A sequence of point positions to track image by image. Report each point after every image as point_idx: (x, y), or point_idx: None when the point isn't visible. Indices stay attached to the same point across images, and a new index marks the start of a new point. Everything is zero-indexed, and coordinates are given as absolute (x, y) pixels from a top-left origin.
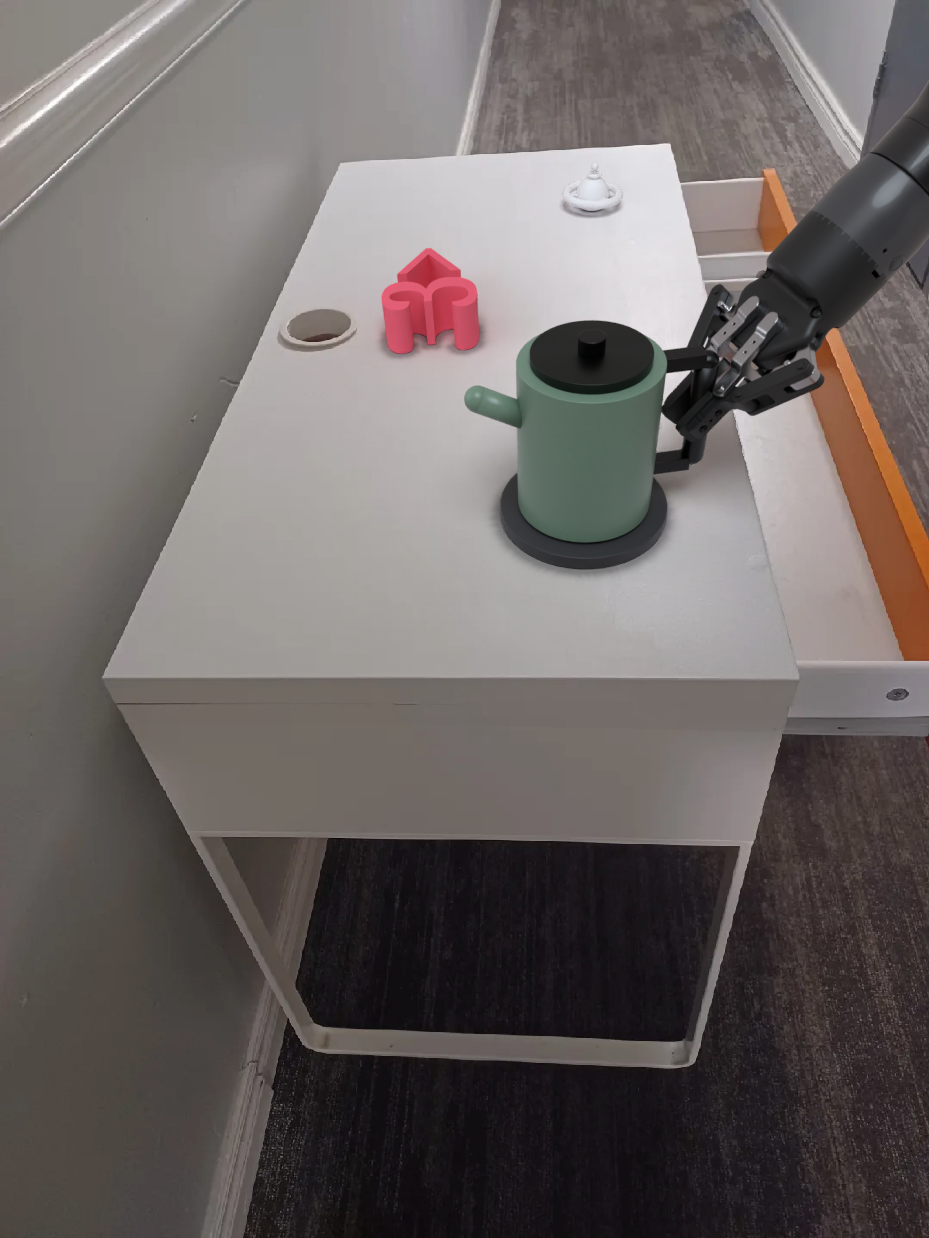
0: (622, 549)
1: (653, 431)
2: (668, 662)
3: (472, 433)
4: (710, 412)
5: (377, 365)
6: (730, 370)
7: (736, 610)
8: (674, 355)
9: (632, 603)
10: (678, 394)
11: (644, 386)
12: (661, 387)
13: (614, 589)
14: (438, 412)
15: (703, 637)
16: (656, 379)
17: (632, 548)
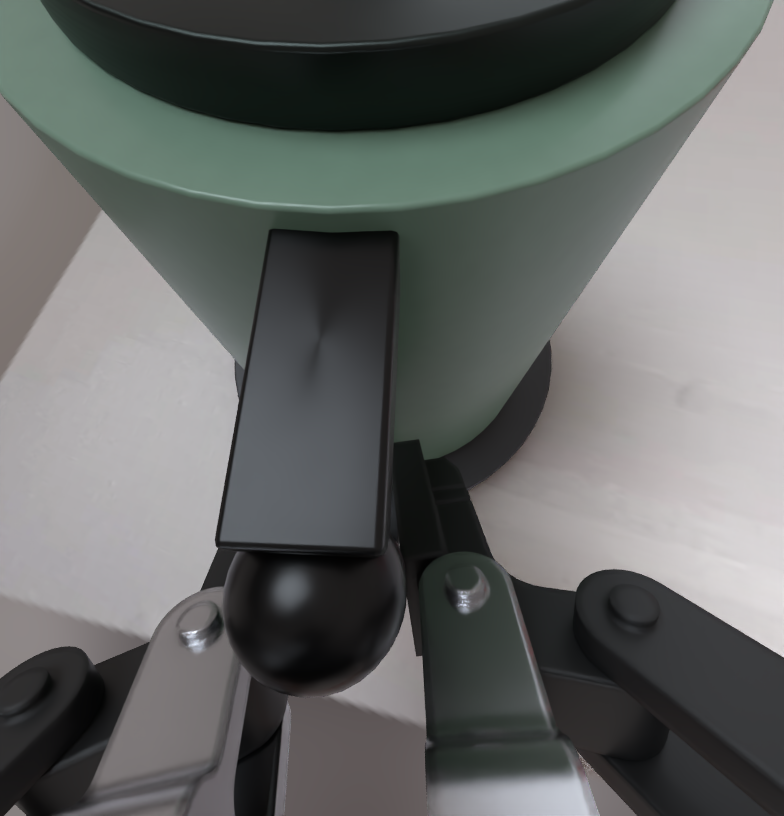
0: (242, 374)
1: (193, 311)
2: (21, 387)
3: (661, 233)
4: (214, 560)
5: None
6: (202, 746)
7: (60, 535)
8: (301, 295)
9: (154, 373)
10: (407, 485)
11: (9, 31)
12: (91, 190)
13: (194, 356)
14: (734, 193)
15: (36, 456)
16: (31, 92)
17: (238, 391)
